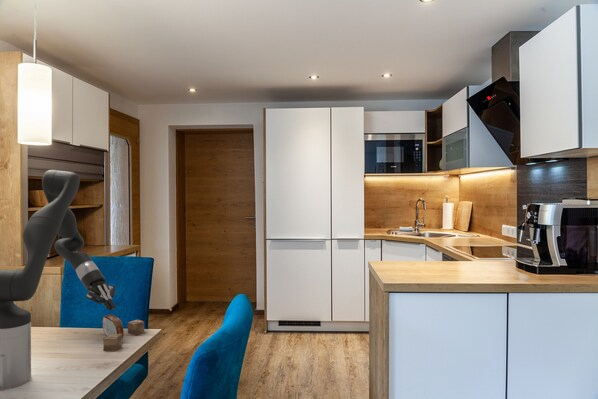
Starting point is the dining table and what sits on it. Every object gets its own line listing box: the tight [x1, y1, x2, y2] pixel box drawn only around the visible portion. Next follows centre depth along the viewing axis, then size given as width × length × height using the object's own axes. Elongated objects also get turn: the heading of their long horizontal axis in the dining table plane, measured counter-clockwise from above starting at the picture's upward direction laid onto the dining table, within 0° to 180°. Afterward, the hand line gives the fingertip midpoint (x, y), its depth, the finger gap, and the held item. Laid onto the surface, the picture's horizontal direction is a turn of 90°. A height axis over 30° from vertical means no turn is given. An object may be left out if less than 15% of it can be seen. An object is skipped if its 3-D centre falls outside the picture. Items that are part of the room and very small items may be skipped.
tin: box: [102, 313, 125, 340], centre depth 156 cm, size 15×3×8 cm, turn 46°
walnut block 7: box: [127, 319, 145, 336], centre depth 162 cm, size 4×4×5 cm
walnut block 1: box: [102, 334, 123, 352], centre depth 145 cm, size 4×4×5 cm
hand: (112, 309), depth 156 cm, fingers closed
